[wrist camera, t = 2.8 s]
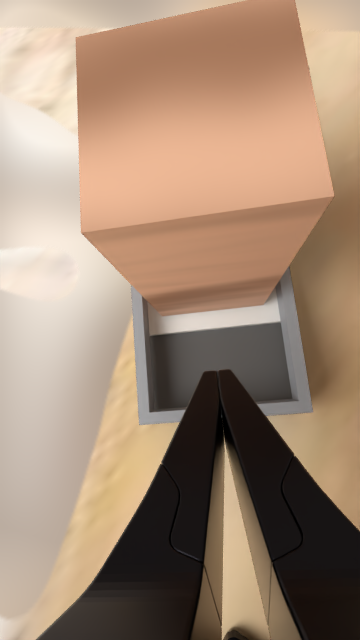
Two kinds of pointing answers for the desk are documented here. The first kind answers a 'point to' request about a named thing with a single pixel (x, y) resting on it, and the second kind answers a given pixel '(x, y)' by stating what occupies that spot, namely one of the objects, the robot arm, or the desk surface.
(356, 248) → the desk surface
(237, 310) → the trap box
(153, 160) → the terracotta block
